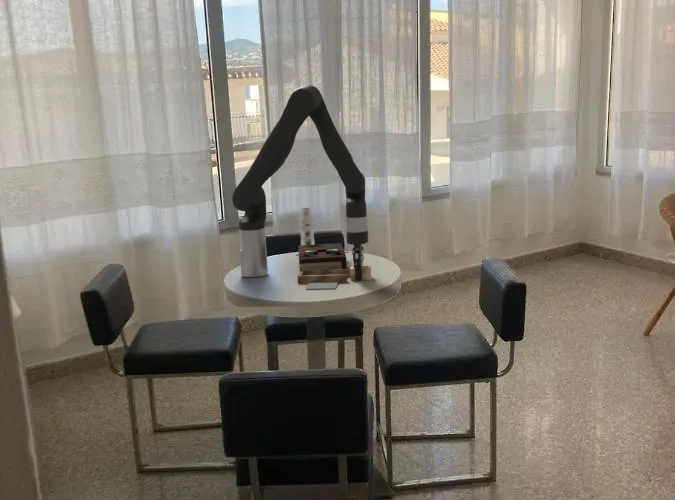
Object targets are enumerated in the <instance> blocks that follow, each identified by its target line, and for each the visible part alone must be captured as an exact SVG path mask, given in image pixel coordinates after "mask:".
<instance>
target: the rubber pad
mask: <svg viewBox="0 0 675 500" xmlns="http://www.w3.org/2000/svg"><path fill="white" fill-rule="evenodd" d="M338 285H339V282H312V283H307V285H306V288H305V290H307V291H308V290H309V291H310V290H311V291H312V290H315V291H316V290H336V289H337V287H338Z"/></svg>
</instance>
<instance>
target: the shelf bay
mask: <svg viewBox="0 0 675 500" xmlns="http://www.w3.org/2000/svg"><path fill="white" fill-rule="evenodd" d="M348 277H350V268H347V269H326V270H301V272H300V271H299V273H298V275H297V284H309V283H312V282H338V283H347V282H348Z"/></svg>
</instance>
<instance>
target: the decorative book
mask: <svg viewBox="0 0 675 500" xmlns="http://www.w3.org/2000/svg"><path fill="white" fill-rule="evenodd" d="M346 253H347V254H349V251H345V249H344V246H343V244H342V242H337V243H335V242H334V243H322V244H321V243H319V244H315V245H301V244H300V245H298V253H297V254H295V256H298V265H299V273H300V272H301V270H326V269H348V268H347V256H346Z"/></svg>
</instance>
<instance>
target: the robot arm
mask: <svg viewBox="0 0 675 500" xmlns="http://www.w3.org/2000/svg"><path fill="white" fill-rule="evenodd" d="M308 117H310V119H311V121H312V122H313V124H314V125H315V127H316V130H317V133H318V135H319V138H320V142H321V145H322V148H323V150H324V152H325V154H326V156H327V158H328V159H329V161H330V163H331V165H332V166H333V167H334V168H335V170H336V172H337V173H338V175H339V178H340V179H341V181H342V184H343V186H344V187H345V188H344V189H345V197H346V199H345V200H346V202H345V216H346V217H345V218H346V219H345V228H346V229H345V232H346V233H345V235H346V244H348V245H353V247H352V249H351V254H352V262H353V266H354V269H355V279H356V280H355V281H362V280H361V279H362V266H364V258H365V254H364V253H365V247H364V244H365V245H366V244H368V243H369V225H368V223H369V222H368V217H367V215H368V214H367V203H366V177H365V175H364V173H362V172H361V171H360V169H359V167H358V166H357V164H356V162H355V161H354V158H353V156H352V154H351V152H350V150H349V149H348V147H347V146H346V144H345V143H344V139H342V137H341V135H340V133H339V131H338V129H337V128H336V126H335V124H334V122H333V120H332V116H331V114H330V113H329V110H328V108H327V105H326V103H325V100H324V97H323V96H322V93H321V91H320V89H318V88H317V87H316V86H315V85H312V84H306V85H303V86H300V87H298V88H296V89H294V90H293V92H292V93H291V94H290V96H289V98H288V99H287V102H286V105H285V107H284V110H283V111H282V114H281V116H280V118H279V119H278V121H277V123H276V124H275V125H274V127H273V129H272V130H271V131H270V133H269V135H268V136H267V138H266V139H265V141H264V142H263V145H262V146H261V147H260V151H259V152H258V154H257V155H256V157H255V159H254V160H253V162H252V164H251V166H250V168H249V169H248V171H247V172H246V173H245V175H244V177H243V178H242V179H241V181H240V182H239V183H238V185H237V186H236V187H235V189H234V191H233V193H232V198H231V199H232V204H233V207H234V208H235V209H236V210H237V211H238V212H239V211H240V212H244V215H243V217H242V218H241V219H240V220H239V221H238V228H239V232H238V233H239V242H240V243H239V245H240V250H239V265H240V275H241V277H243V278H244V277H246V278H260V277H265V276H267V275H268V274H269V267H268V252H267V241H266V226H265V225H266V224H265V223H266V220H267V198H266V193H265V190H264V188H263V185H264V184H265V183H266V182H267V181H268V180H269V179H270V178H271V177H272V176H273V175H275V174H276V173H277V171H279V170H280V169H281V168H282V166H283V165H284V164H285V162H286V161H287V159H288V157H289V156H290V154H291V152H292V150H293V148H294V147H293V146H294V144H295V141H296V140H295V139H296V137H297V134H298V131H299V130H300V129H301V127H302V126H303V124H304V123H305V121H306V120H307V119H308Z"/></svg>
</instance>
